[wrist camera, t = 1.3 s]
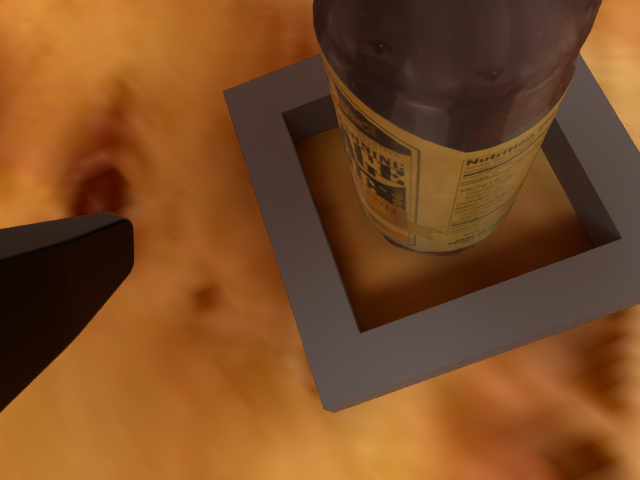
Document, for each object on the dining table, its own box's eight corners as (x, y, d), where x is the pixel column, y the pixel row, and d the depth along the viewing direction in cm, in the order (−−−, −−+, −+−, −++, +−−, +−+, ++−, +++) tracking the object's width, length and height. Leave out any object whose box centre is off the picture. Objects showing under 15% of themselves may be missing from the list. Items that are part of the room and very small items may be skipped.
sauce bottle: (346, 145, 26) (149, -625, 7) (489, 110, 25) (680, -827, 7) (378, 288, 23) (211, -293, 5) (536, 253, 23) (1035, -559, 4)
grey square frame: (334, 412, 22) (323, 409, 20) (239, 121, 27) (222, 91, 25) (679, 289, 22) (711, 271, 19) (520, 14, 26) (530, -28, 24)
